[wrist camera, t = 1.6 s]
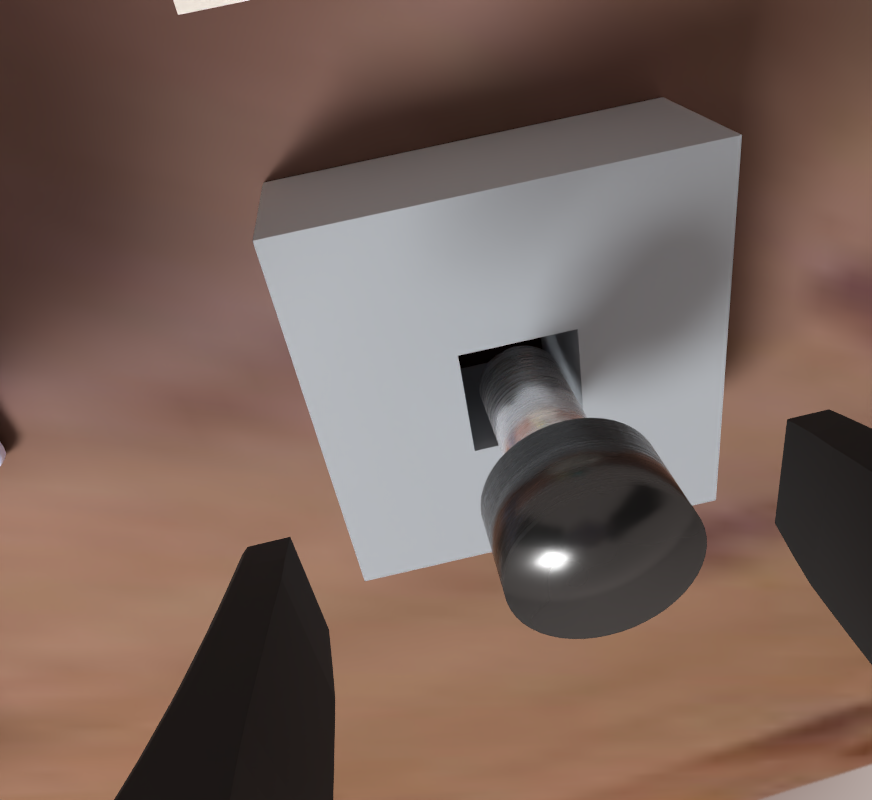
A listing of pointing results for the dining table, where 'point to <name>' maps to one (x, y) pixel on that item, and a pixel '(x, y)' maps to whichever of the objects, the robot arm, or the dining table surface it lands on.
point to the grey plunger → (579, 508)
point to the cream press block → (200, 4)
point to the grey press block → (503, 306)
